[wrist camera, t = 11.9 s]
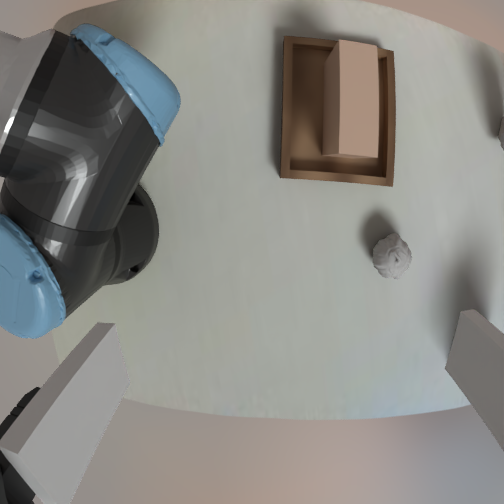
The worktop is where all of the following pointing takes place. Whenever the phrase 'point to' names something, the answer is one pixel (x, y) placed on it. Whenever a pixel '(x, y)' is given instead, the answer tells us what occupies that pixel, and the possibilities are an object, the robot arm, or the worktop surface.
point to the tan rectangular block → (351, 101)
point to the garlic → (391, 256)
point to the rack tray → (311, 118)
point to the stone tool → (501, 133)
